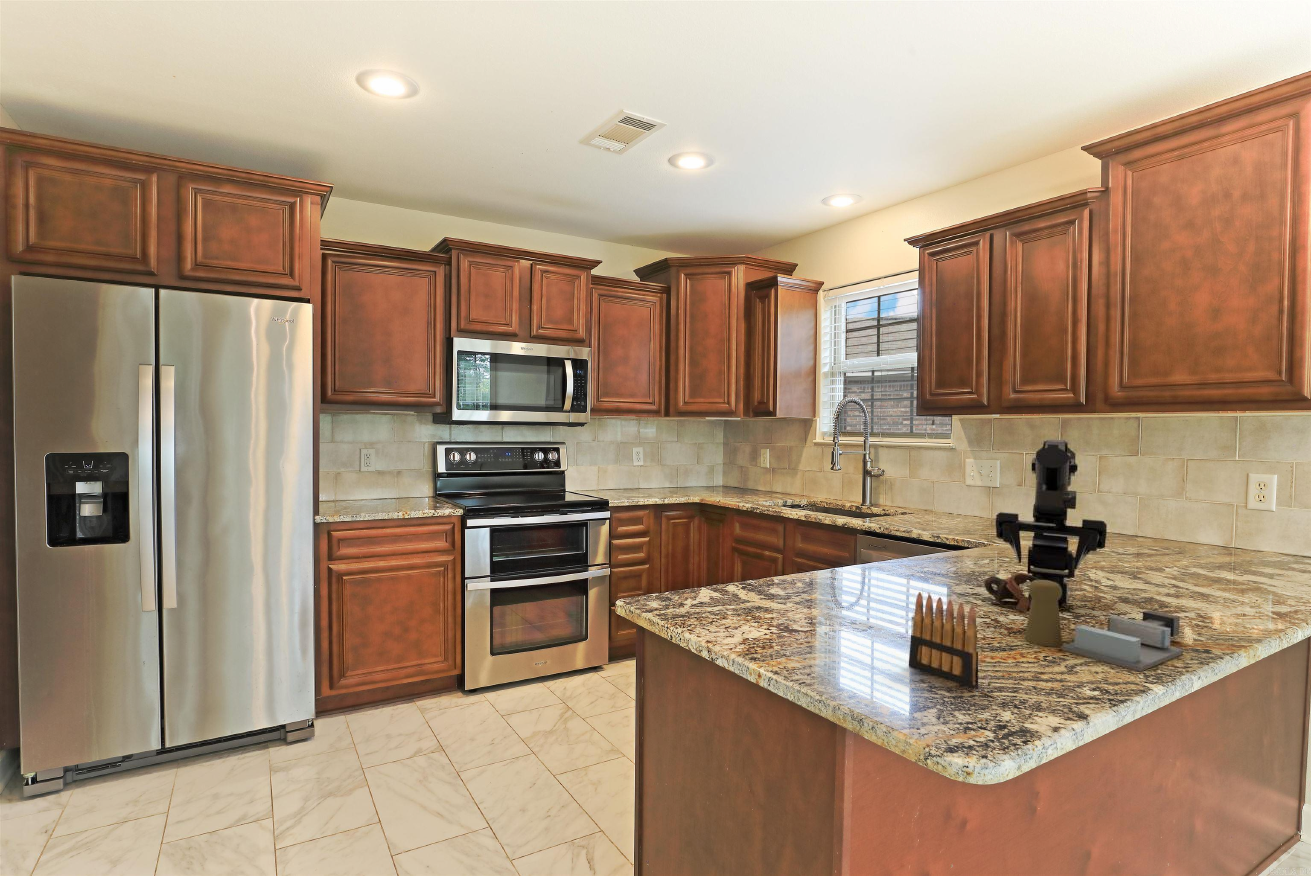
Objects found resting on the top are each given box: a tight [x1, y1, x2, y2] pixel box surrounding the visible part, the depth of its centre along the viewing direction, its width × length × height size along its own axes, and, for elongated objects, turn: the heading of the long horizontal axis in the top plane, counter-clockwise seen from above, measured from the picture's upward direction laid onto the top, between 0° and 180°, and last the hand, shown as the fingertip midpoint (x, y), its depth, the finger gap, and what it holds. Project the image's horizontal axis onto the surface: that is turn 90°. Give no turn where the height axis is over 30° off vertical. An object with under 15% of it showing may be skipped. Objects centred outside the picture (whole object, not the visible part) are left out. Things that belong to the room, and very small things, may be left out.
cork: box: [1023, 580, 1063, 648], centre depth 126 cm, size 6×6×11 cm
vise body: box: [1061, 624, 1184, 673], centre depth 124 cm, size 25×12×4 cm, turn 124°
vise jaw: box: [1106, 609, 1181, 649], centre depth 128 cm, size 12×9×3 cm
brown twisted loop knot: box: [983, 572, 1039, 613], centre depth 151 cm, size 12×10×8 cm
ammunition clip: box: [908, 591, 979, 689], centre depth 107 cm, size 11×2×12 cm, turn 35°
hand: (1047, 564), depth 132 cm, fingers open, 9 cm apart
